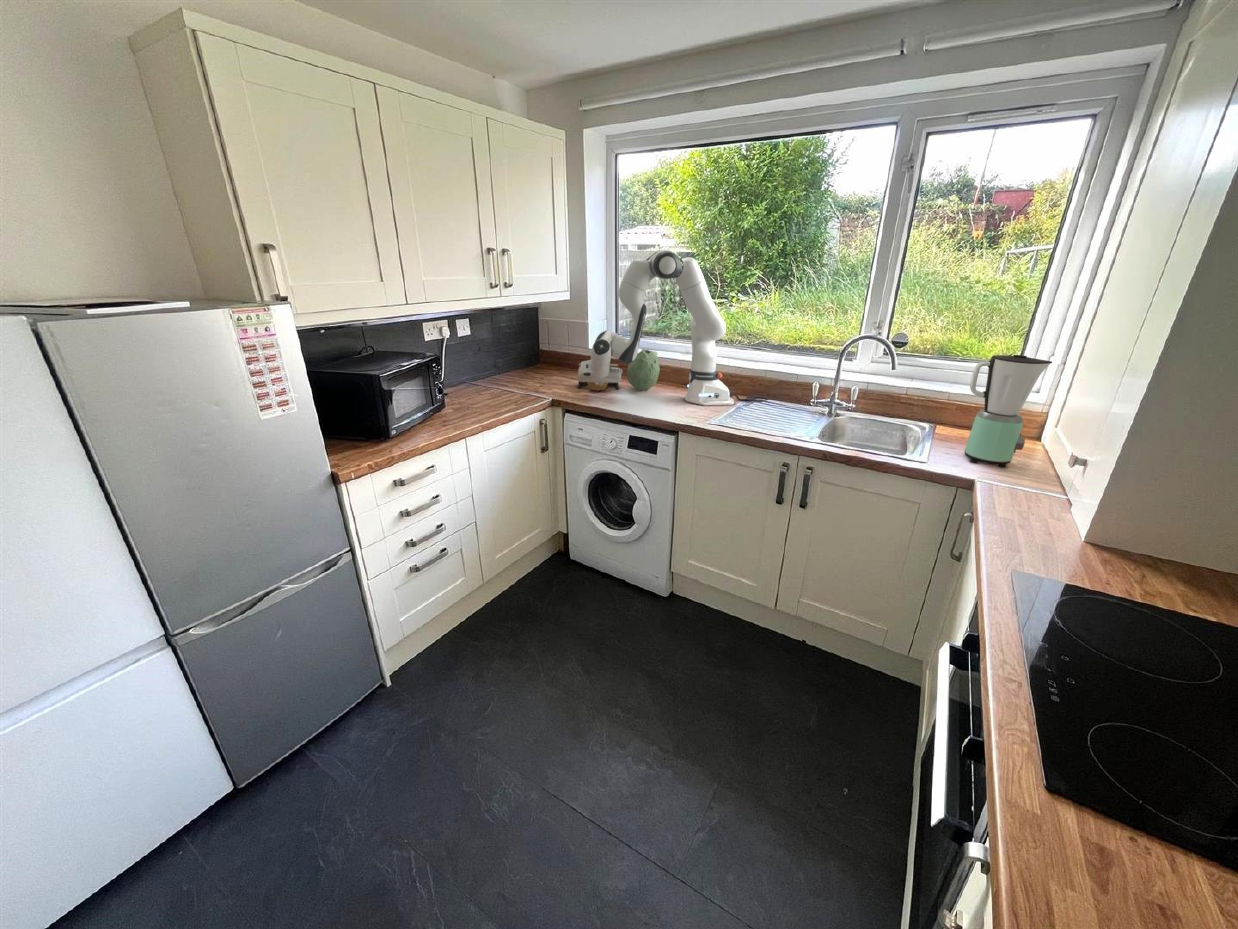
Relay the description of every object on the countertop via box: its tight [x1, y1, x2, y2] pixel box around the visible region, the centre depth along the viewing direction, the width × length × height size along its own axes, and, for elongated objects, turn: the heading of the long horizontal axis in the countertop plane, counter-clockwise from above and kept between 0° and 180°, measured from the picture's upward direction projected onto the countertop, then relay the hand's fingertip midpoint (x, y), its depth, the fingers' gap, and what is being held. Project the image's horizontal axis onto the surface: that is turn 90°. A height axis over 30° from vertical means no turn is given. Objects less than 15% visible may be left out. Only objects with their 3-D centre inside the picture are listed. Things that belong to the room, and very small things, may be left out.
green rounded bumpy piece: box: [626, 347, 661, 392], centre depth 245 cm, size 16×19×20 cm
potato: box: [587, 382, 608, 392], centre depth 243 cm, size 10×14×8 cm
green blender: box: [964, 354, 1053, 469], centre depth 161 cm, size 19×13×35 cm
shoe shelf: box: [577, 362, 619, 391], centre depth 250 cm, size 20×9×11 cm, turn 94°
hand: (598, 384), depth 237 cm, fingers closed
